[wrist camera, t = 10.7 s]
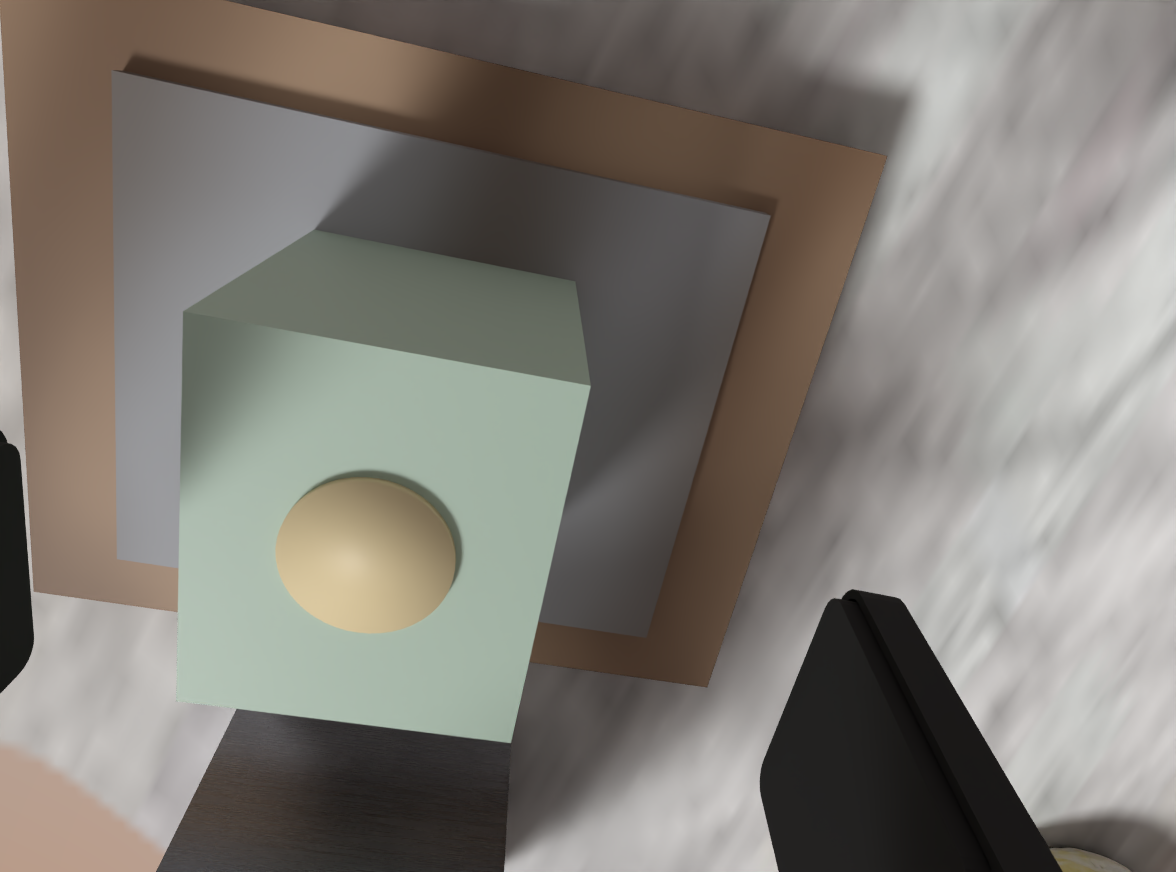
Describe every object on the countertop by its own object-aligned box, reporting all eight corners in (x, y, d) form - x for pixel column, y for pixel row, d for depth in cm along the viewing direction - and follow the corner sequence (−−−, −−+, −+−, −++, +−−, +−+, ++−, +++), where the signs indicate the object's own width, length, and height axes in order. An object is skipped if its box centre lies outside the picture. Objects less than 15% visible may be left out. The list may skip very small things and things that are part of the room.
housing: (575, 281, 16) (591, 389, 10) (521, 543, 18) (510, 750, 12) (314, 229, 15) (177, 314, 10) (292, 507, 18) (172, 708, 12)
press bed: (858, 149, 17) (895, 157, 15) (696, 647, 22) (709, 698, 20) (49, -40, 15) (-19, -58, 13) (71, 554, 20) (23, 601, 18)
